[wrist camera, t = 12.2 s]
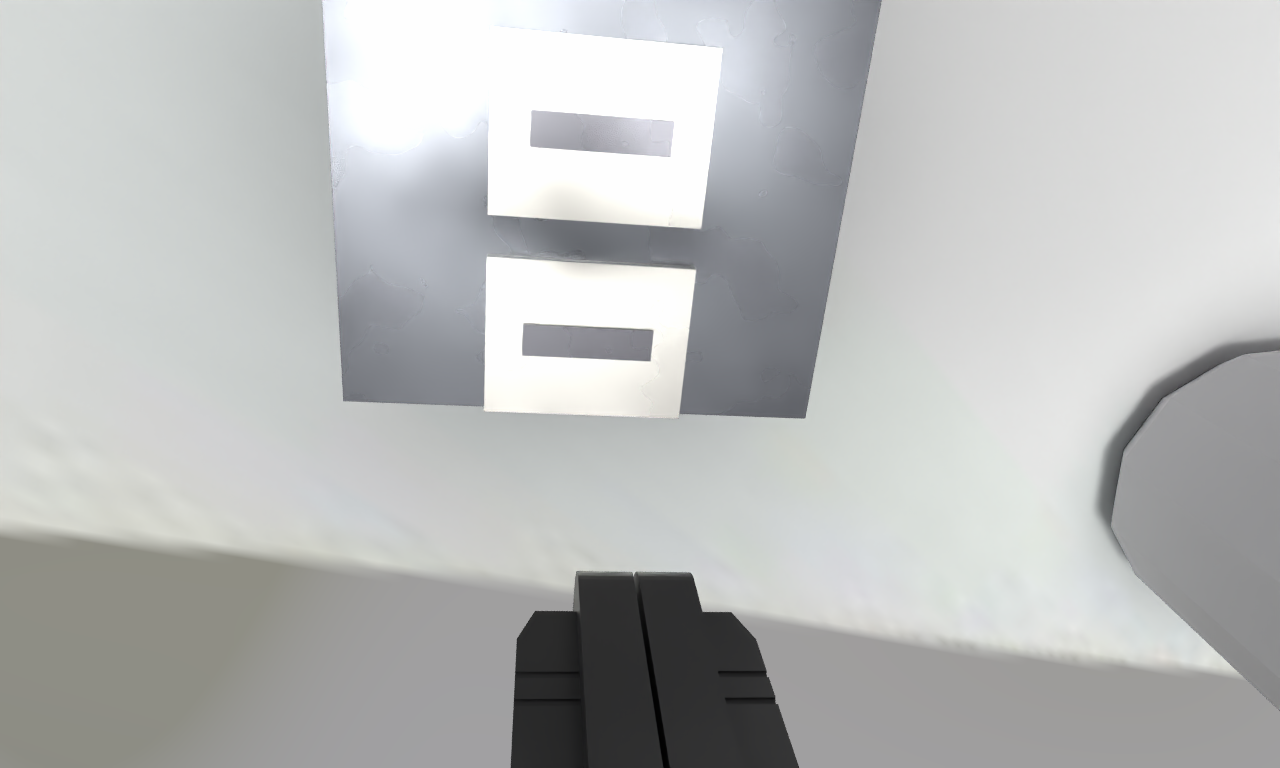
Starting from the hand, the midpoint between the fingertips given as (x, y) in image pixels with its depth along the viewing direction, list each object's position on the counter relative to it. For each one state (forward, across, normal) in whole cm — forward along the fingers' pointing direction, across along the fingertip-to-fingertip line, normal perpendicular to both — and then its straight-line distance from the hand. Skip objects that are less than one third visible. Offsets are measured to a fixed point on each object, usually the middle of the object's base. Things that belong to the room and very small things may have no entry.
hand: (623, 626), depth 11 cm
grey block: (+15, 0, -6) cm, 16 cm away
